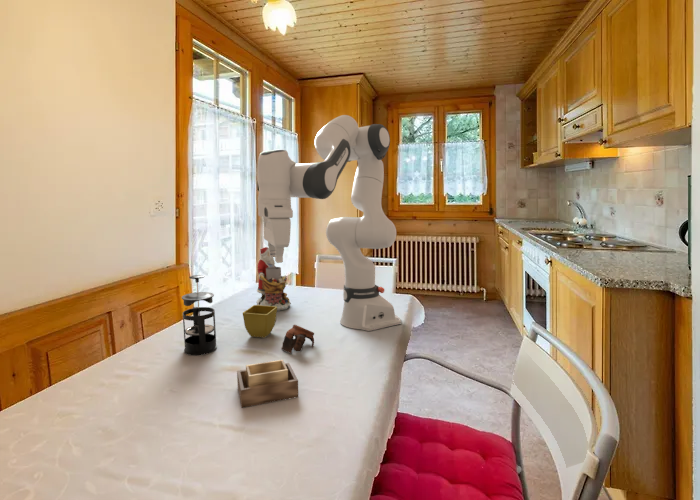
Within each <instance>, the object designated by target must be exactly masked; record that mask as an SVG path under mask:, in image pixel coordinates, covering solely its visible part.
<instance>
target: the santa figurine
mask: <svg viewBox="0 0 700 500" xmlns="http://www.w3.org/2000/svg"><path fill="white" fill-rule="evenodd" d="M259 255H260V256H259V261H258V262H257V274H258V286H257V289H256V292H257V293H259V294H261V297H260V298H259V297H258V299H257V301H256V305H262V306H275V307H277V312H280V311H285V310H288V309H289V308H290V307H291V305H292V303H291V302H290V298H289V296H288V297H287V295H288V294H287V292H284V291H285V289H286V283H287V280H288V278H287V276H286V275H282V267H280V266H276V265H275V264H276V261H275V257H270V255H269V247H267V246H265V247H261V249H260V254H259Z"/></svg>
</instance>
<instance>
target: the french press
mask: <svg viewBox="0 0 700 500" xmlns="http://www.w3.org/2000/svg"><path fill="white" fill-rule="evenodd" d="M203 278H205V275H203V274H196V275H191V276H189V279H193V280H195V283H196V292H191V293H185V294H184V295H182V296H181V300H183V306H185V307H190V306H192V305H193V304H195V303H196V302H197V306H193V307H191V308H188V309H186V310H184V311H183V312H182V324H183V326H182V327H183V339H184V340H183V342H184V350H183V351H184V352H183V353H184V354H185V355H188V356H194V357H195V356H204V355H205V356H206V355H208V354H211V353H213V352H215V351H216V350H217V348H218V345H217V333H216V314H215V313H216V312H215V311H216V310H215V309H214V308H213V307H207V306H200V301H203V302H207V303H208V304H212V303H213V300H214V299H213V298H214V296H215V294H214V293H213V292H207V291H199V283H200V279H203ZM201 312H209V313H207V314H202V315H201ZM189 314H192V315H189ZM211 318H213V325H212V324H206V323H205V322H206V320H208V319H211ZM185 321H191V322H192V321H193V326H190V327H187V328H186V325H185ZM212 333H213V334H212ZM186 335H187V337H186Z"/></svg>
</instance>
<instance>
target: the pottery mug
mask: <svg viewBox="0 0 700 500" xmlns="http://www.w3.org/2000/svg"><path fill="white" fill-rule="evenodd" d="M284 335H285V336H284V337H283V341H282V344H281V345H282V346H281V350H283V351H284V352H286V353H289V354H292V353H293V350H294V351H295V352H302V350H303V347H304V345H305V342H306V339H309V341H310V342H311V347H314V345H315V338H314V335H315V332H313V331H311V330H310V329H307V328H305V327H302V326H300V325H297V324H293V325H292V327H291V328H289V329H288V330H287V331H286V332H285V334H284Z"/></svg>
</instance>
